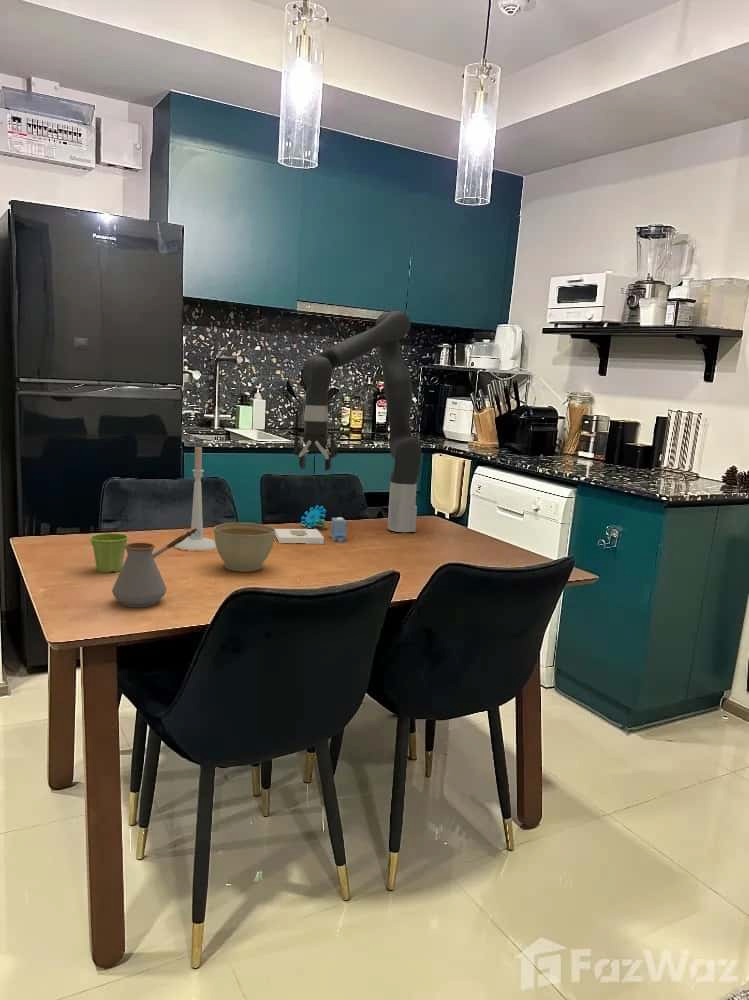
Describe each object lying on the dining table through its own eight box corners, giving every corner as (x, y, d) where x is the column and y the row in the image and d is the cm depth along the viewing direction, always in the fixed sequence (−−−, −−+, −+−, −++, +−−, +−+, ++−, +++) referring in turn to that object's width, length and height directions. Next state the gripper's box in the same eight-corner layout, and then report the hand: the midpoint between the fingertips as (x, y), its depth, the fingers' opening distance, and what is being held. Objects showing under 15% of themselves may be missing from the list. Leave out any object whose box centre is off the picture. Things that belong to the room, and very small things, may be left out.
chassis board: (316, 535, 244) (316, 529, 244) (323, 543, 232) (323, 537, 231) (274, 534, 240) (274, 528, 240) (279, 543, 228) (279, 537, 228)
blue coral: (294, 520, 257) (314, 500, 260) (303, 531, 261) (322, 511, 264) (311, 531, 249) (331, 510, 252) (320, 541, 253) (339, 520, 255)
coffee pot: (130, 613, 155) (131, 544, 153) (101, 601, 162) (101, 534, 160) (212, 595, 172) (213, 532, 169) (182, 584, 179) (183, 524, 176)
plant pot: (82, 572, 184) (82, 538, 182) (101, 564, 193) (101, 531, 191) (117, 576, 182) (117, 542, 181) (134, 567, 192) (135, 534, 190)
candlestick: (217, 542, 226) (219, 444, 221) (219, 551, 214) (222, 448, 209) (174, 542, 222) (175, 443, 218) (174, 552, 210) (175, 447, 205)
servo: (340, 536, 244) (341, 514, 243) (346, 542, 236) (347, 519, 235) (329, 536, 244) (331, 514, 242) (335, 542, 235) (336, 519, 234)
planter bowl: (248, 579, 186) (249, 537, 185) (200, 568, 194) (200, 528, 192) (285, 567, 200) (287, 528, 199) (239, 557, 208) (240, 520, 206)
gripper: (341, 420, 238) (339, 470, 241) (300, 417, 242) (299, 466, 245) (332, 421, 231) (330, 472, 234) (290, 418, 235) (290, 469, 238)
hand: (314, 469), depth 239 cm, fingers open, 8 cm apart
